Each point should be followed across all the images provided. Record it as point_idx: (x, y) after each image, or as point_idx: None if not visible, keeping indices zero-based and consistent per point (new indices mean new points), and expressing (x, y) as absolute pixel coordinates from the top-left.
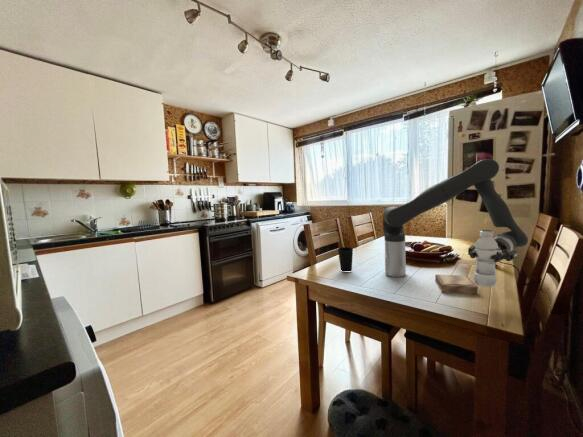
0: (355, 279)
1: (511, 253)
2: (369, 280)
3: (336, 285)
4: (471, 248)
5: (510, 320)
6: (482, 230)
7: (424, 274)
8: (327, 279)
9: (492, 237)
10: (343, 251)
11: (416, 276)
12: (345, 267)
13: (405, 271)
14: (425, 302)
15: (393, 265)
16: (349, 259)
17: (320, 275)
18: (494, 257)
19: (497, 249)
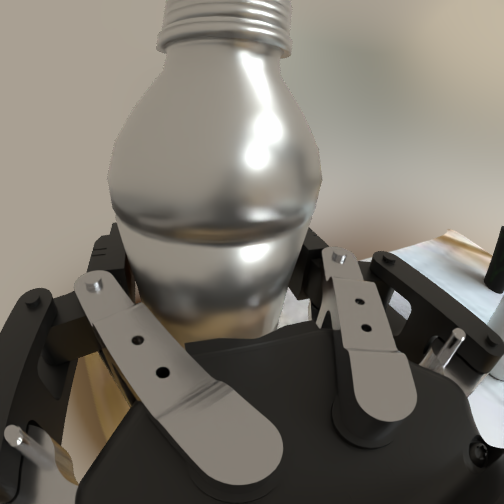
0: (451, 277)
1: (7, 323)
2: (449, 293)
3: (418, 247)
4: (385, 263)
5: (103, 380)
6: (285, 5)
7: (500, 432)
8: (445, 249)
9: (165, 62)
10: (501, 228)
11: (485, 400)
12: (488, 268)
13: (498, 365)
14: (301, 311)
15: (495, 311)
16: (499, 255)
17: (462, 250)
18: None
19: (119, 224)
